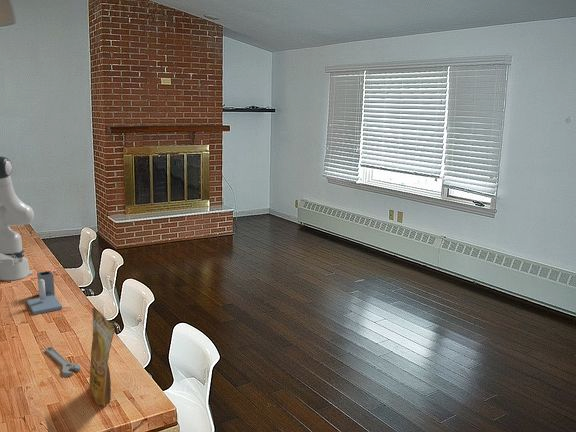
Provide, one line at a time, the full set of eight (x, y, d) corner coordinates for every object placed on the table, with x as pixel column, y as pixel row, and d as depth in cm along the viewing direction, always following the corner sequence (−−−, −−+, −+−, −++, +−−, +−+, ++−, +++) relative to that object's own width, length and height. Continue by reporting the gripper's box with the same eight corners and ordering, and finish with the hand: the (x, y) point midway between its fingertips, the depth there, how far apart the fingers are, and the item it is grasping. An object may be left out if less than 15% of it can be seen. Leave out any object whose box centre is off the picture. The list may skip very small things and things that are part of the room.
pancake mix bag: (106, 378, 191) (102, 304, 184) (119, 405, 175) (115, 325, 168) (86, 383, 187) (81, 307, 181) (98, 411, 171) (92, 329, 165)
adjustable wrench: (44, 352, 210) (44, 347, 209) (61, 347, 214) (61, 343, 213) (65, 378, 191) (64, 373, 190) (83, 372, 195) (83, 368, 194)
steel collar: (39, 294, 266) (37, 272, 263) (52, 291, 269) (50, 270, 266) (41, 298, 261) (39, 276, 258) (54, 295, 264) (53, 274, 262)
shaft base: (26, 303, 255) (24, 277, 252) (54, 297, 261) (52, 273, 258) (33, 314, 242) (31, 288, 239) (62, 309, 249) (60, 283, 246)
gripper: (-9, 257, 237) (25, 254, 246) (-20, 251, 252) (12, 249, 262) (-8, 271, 238) (25, 268, 247) (-20, 264, 253) (12, 262, 262)
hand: (18, 258), depth 254 cm, fingers open, 8 cm apart
